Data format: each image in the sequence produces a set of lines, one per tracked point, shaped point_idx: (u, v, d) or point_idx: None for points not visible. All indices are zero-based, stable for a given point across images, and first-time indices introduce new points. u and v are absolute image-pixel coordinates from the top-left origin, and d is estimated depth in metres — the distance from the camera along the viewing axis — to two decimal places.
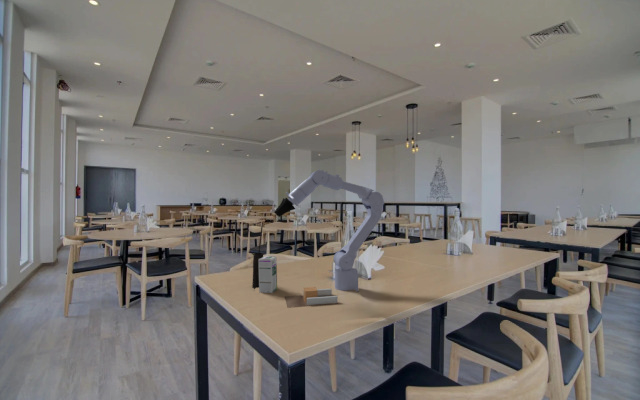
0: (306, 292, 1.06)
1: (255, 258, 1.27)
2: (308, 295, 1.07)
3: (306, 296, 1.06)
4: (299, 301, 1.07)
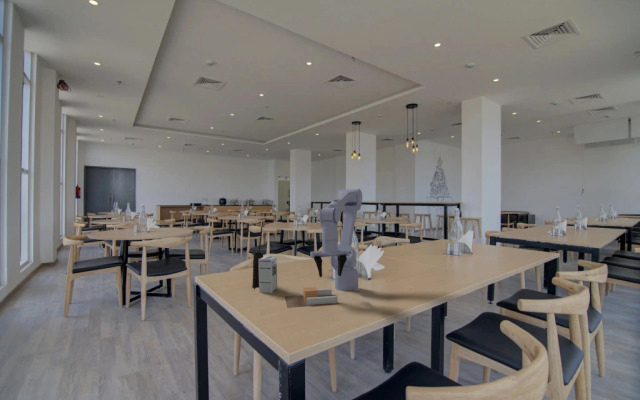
0: (306, 292, 1.06)
1: (255, 258, 1.27)
2: (308, 295, 1.07)
3: (306, 296, 1.06)
4: (299, 301, 1.07)
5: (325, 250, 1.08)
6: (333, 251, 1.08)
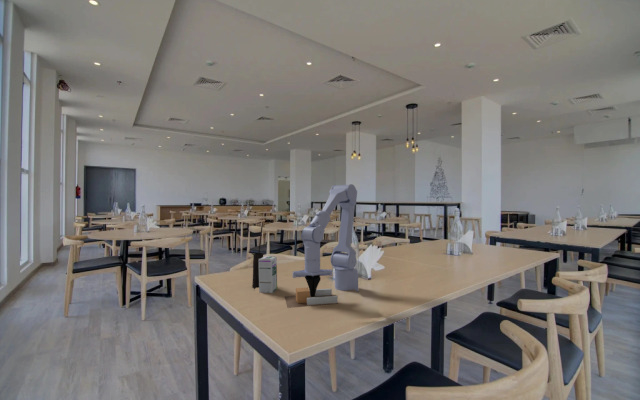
0: (298, 293, 1.06)
1: (255, 258, 1.27)
2: (300, 296, 1.06)
3: (298, 297, 1.06)
4: None
5: (307, 270, 1.07)
6: (315, 271, 1.07)
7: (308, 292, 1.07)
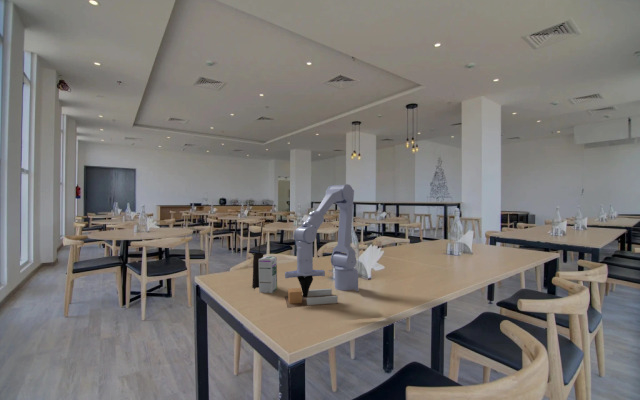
0: (290, 293, 1.05)
1: (255, 258, 1.27)
2: (292, 296, 1.06)
3: (290, 297, 1.05)
4: None
5: (299, 270, 1.06)
6: (307, 272, 1.06)
7: (300, 292, 1.06)
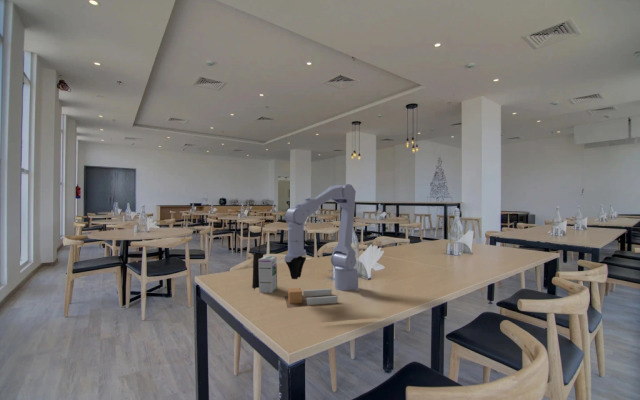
0: (290, 293, 1.05)
1: (255, 258, 1.27)
2: (292, 296, 1.06)
3: (290, 297, 1.05)
4: None
5: (298, 251, 1.05)
6: (303, 251, 1.08)
7: (300, 292, 1.06)
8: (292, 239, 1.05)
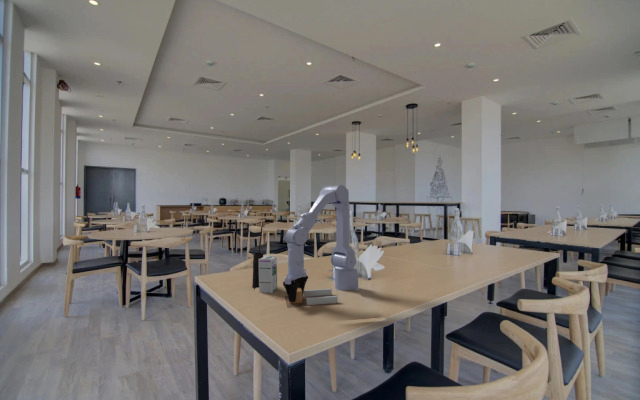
0: None
1: (255, 258, 1.27)
2: None
3: None
4: None
5: (298, 273, 1.05)
6: (303, 272, 1.08)
7: (301, 292, 1.06)
8: (292, 260, 1.05)
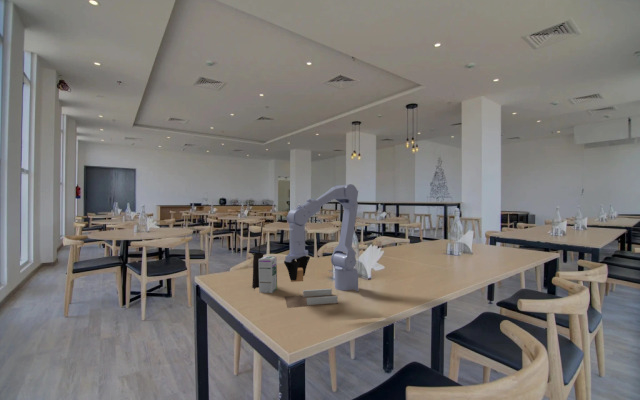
0: None
1: (255, 258, 1.27)
2: None
3: None
4: (299, 301, 1.07)
5: (298, 252, 1.08)
6: (304, 252, 1.10)
7: (301, 271, 1.09)
8: (293, 240, 1.08)
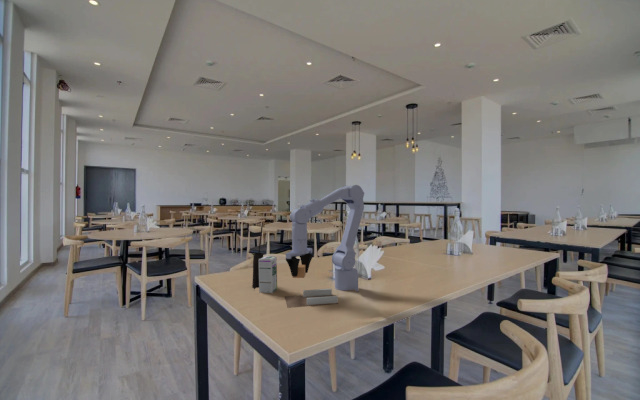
0: None
1: (255, 258, 1.27)
2: None
3: None
4: (299, 301, 1.07)
5: (299, 249, 1.12)
6: (306, 250, 1.14)
7: (302, 268, 1.13)
8: (294, 238, 1.13)
